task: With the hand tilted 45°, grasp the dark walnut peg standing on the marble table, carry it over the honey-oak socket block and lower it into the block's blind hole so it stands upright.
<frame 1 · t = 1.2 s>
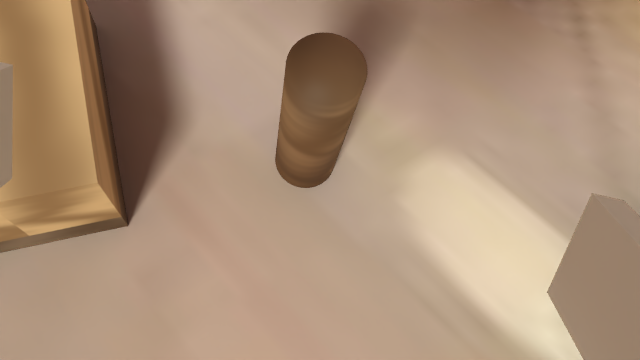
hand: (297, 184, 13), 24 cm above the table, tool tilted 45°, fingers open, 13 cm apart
pin: (305, 159, 40), on the table
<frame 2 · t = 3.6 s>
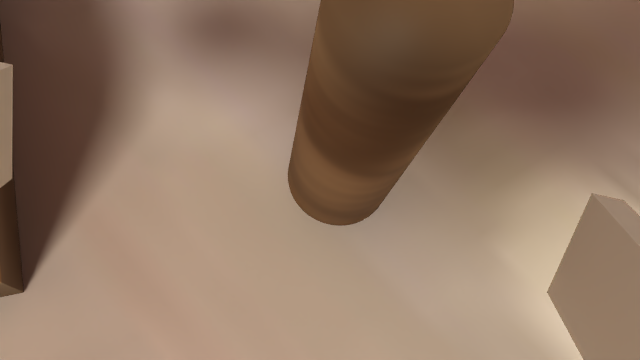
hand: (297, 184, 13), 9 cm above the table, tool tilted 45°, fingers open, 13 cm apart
pin: (337, 176, 24), on the table
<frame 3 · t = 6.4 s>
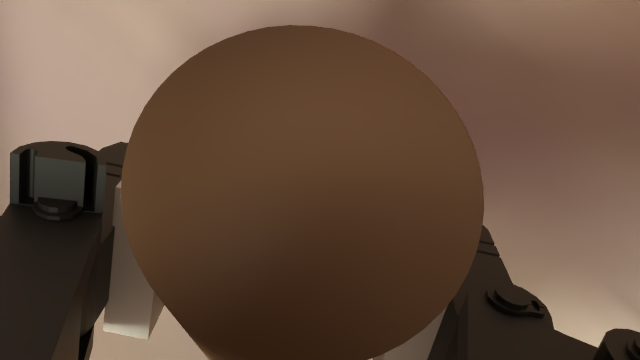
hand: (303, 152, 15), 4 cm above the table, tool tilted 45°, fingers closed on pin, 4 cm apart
pin: (266, 318, 18), on the table, touching gripper
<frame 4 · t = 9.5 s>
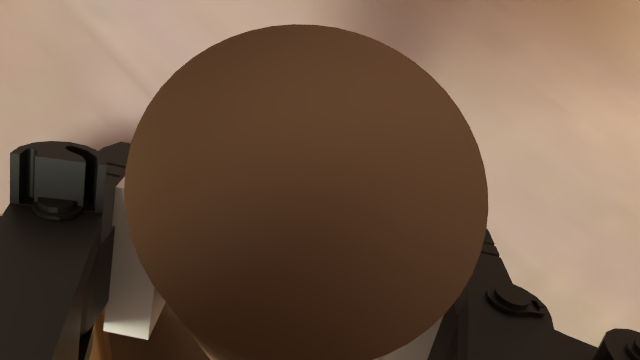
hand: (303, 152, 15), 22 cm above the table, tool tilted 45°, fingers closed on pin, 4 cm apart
pin: (267, 318, 18), point 18 cm above the table, touching gripper
socket block: (171, 355, 34), on the table
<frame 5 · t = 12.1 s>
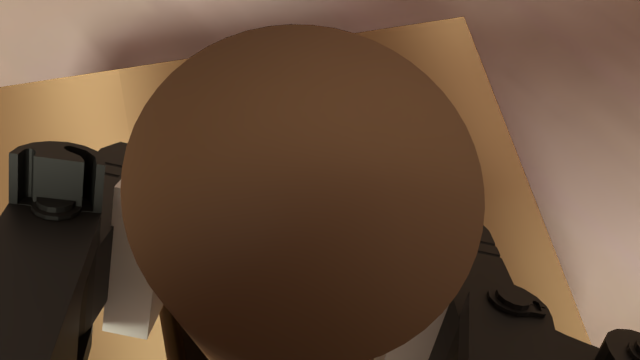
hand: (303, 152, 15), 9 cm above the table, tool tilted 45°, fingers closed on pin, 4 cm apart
pin: (266, 318, 18), point 5 cm above the table, touching gripper
socket block: (263, 335, 23), on the table
when the fingers open (9 cm above the table, at t = 12.7 s): pin drops 3 cm, resting on socket block.
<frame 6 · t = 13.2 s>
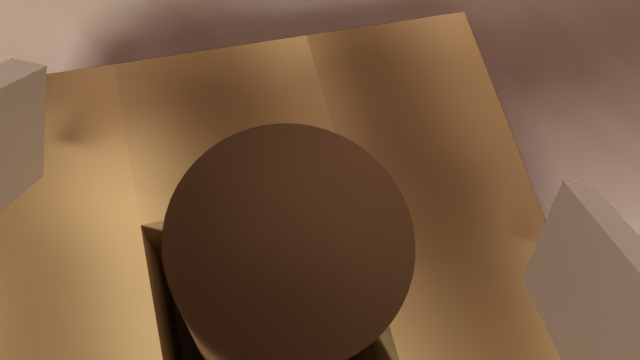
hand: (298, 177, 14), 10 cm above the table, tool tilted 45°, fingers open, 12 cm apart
pin: (255, 328, 20), point 2 cm above the table, touching socket block
socket block: (261, 335, 22), on the table
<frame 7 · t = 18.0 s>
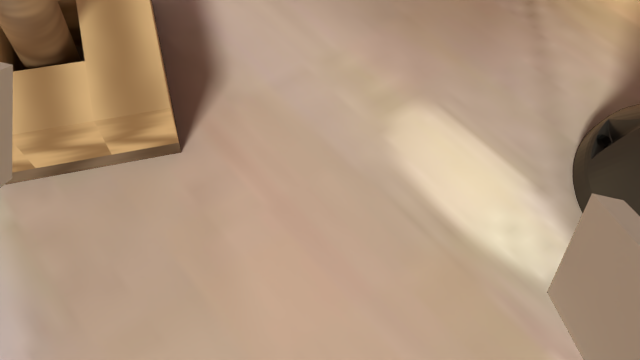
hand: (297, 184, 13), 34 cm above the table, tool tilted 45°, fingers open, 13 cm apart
pin: (59, 76, 48), point 2 cm above the table, touching socket block
socket block: (69, 89, 50), on the table
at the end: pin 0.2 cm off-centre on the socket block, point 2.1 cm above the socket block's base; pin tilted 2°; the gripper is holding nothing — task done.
